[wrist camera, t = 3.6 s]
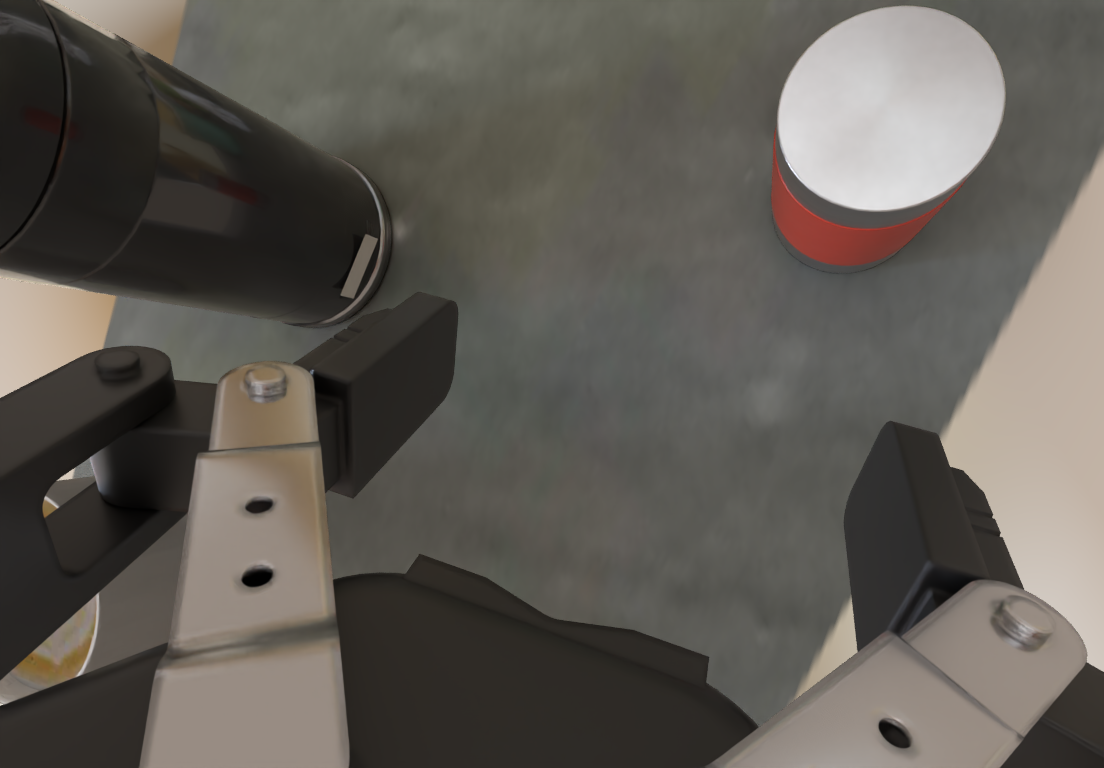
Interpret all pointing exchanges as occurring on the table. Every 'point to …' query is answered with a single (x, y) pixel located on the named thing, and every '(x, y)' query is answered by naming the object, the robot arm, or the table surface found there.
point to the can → (880, 133)
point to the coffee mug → (105, 613)
